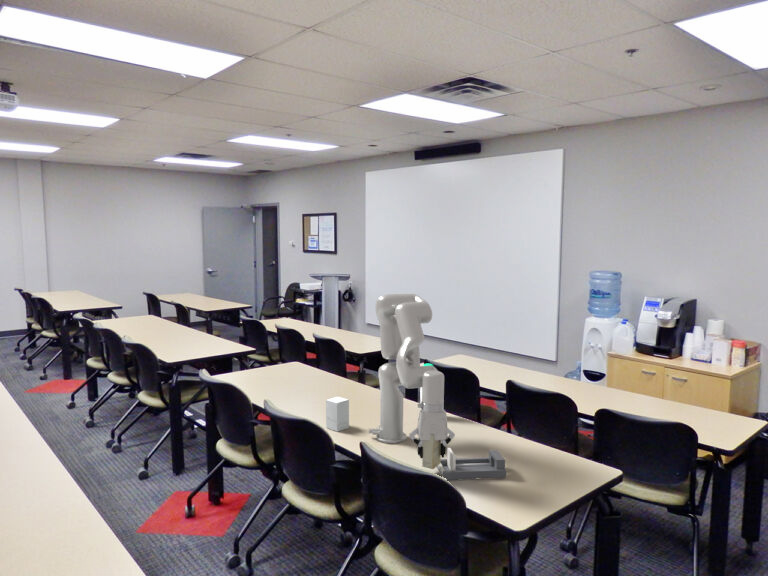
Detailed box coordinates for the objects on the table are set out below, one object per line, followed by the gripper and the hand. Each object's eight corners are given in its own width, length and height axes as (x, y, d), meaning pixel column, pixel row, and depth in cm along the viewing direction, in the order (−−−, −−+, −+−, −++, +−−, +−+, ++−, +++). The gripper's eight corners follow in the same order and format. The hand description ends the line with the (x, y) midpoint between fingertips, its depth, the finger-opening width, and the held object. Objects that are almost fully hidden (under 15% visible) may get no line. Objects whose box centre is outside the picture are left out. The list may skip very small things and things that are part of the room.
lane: (443, 480, 175) (443, 463, 175) (436, 466, 186) (437, 450, 186) (505, 478, 178) (506, 461, 177) (495, 464, 189) (496, 448, 188)
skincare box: (432, 470, 176) (433, 435, 175) (421, 466, 179) (422, 432, 178) (441, 463, 182) (441, 430, 181) (429, 460, 184) (430, 427, 183)
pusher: (452, 474, 177) (452, 457, 176) (447, 464, 185) (447, 447, 184) (494, 472, 179) (495, 455, 178) (487, 463, 187) (488, 446, 186)
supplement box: (349, 427, 225) (349, 399, 224) (336, 432, 219) (336, 403, 218) (338, 423, 230) (338, 395, 229) (325, 427, 224) (325, 399, 223)
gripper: (409, 410, 174) (408, 461, 175) (459, 409, 176) (458, 460, 177) (406, 403, 181) (405, 452, 183) (454, 403, 183) (453, 451, 185)
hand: (431, 456), depth 180 cm, fingers closed on skincare box, 7 cm apart
